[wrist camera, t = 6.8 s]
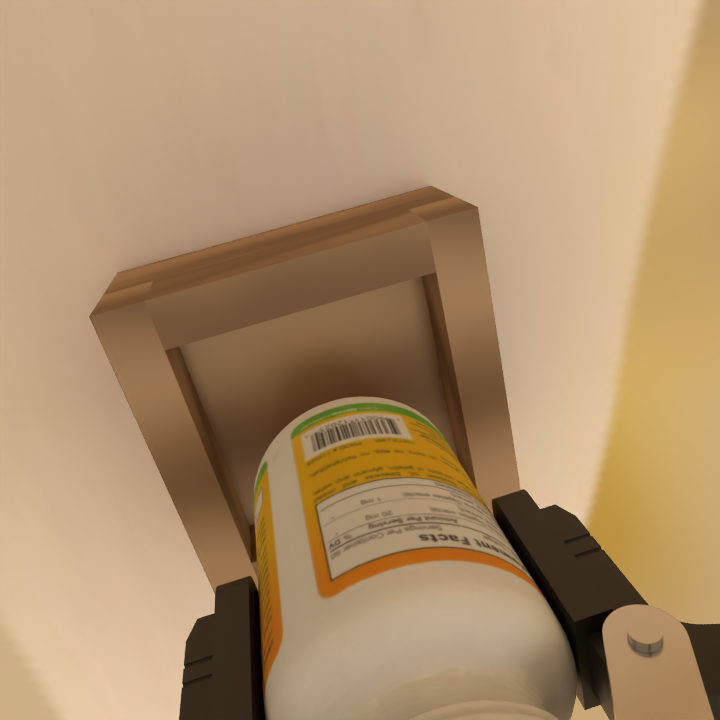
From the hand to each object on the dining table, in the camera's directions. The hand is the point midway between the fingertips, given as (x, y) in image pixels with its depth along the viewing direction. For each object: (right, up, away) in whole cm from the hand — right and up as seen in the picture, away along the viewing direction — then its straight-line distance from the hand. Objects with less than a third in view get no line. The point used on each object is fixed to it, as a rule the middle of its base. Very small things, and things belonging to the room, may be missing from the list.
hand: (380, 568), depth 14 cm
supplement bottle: (-1, +1, +3) cm, 4 cm away
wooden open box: (-2, +4, +10) cm, 11 cm away
